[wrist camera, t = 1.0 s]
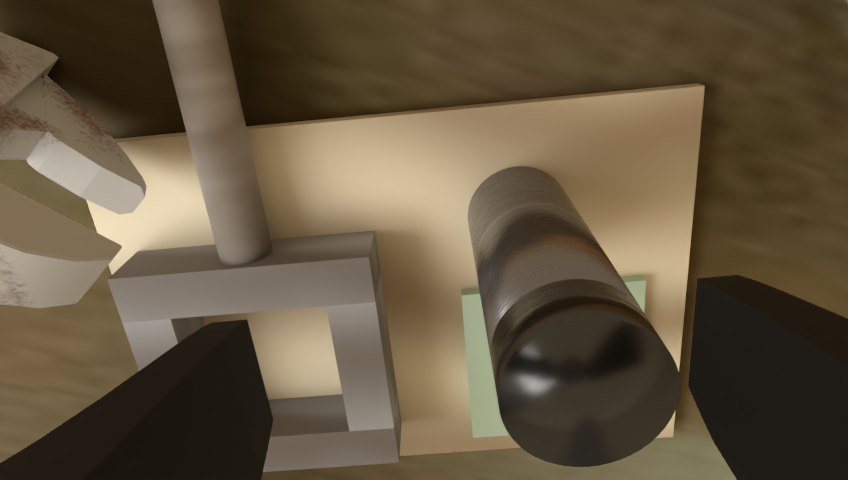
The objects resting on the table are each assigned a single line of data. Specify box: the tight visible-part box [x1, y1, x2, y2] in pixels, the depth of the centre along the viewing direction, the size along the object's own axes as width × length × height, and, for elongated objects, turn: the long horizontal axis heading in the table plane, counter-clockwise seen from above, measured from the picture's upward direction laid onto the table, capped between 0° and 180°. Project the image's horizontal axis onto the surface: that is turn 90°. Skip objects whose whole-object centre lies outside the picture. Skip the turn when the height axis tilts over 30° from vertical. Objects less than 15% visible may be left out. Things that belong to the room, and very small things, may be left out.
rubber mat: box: [461, 275, 646, 438], centre depth 21 cm, size 6×6×1 cm
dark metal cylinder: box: [468, 166, 680, 467], centre depth 15 cm, size 3×3×9 cm
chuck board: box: [87, 0, 705, 472], centre depth 19 cm, size 17×19×2 cm
